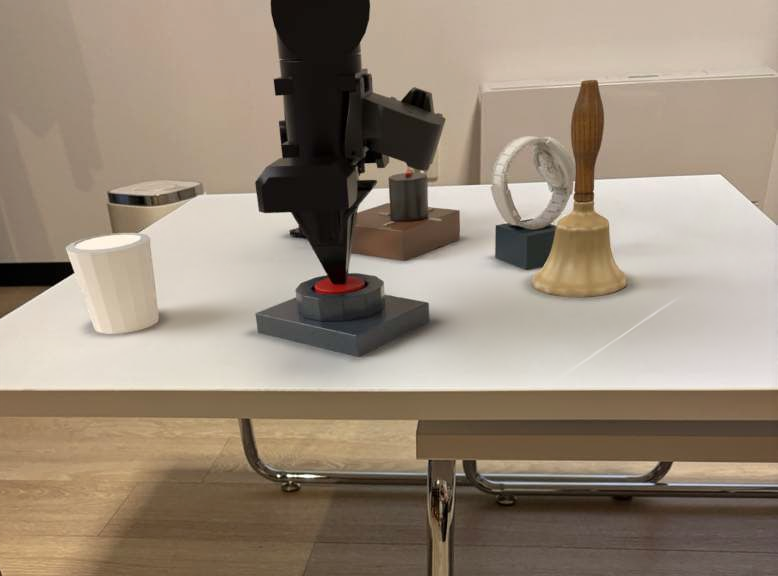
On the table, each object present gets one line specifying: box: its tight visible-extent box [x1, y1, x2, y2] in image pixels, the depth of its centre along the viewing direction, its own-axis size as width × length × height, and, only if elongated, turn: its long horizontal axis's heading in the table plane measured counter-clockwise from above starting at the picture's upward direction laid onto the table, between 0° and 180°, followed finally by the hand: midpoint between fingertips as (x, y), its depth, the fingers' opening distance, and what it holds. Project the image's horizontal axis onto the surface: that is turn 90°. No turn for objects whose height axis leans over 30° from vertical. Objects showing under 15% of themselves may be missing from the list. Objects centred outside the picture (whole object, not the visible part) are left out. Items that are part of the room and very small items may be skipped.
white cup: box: [65, 232, 160, 335], centre depth 71 cm, size 7×7×7 cm
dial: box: [388, 169, 429, 221], centre depth 86 cm, size 4×4×4 cm
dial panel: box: [351, 202, 461, 262], centre depth 88 cm, size 11×10×3 cm
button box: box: [254, 272, 430, 358], centre depth 67 cm, size 11×9×4 cm
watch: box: [490, 135, 576, 271], centre depth 78 cm, size 6×8×11 cm
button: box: [315, 276, 365, 294], centre depth 66 cm, size 4×4×2 cm
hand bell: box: [531, 79, 628, 298], centre depth 69 cm, size 8×8×16 cm
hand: (339, 282), depth 66 cm, fingers closed, pressing on button
